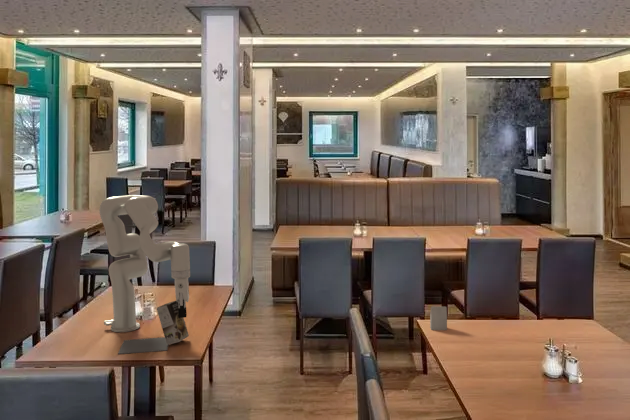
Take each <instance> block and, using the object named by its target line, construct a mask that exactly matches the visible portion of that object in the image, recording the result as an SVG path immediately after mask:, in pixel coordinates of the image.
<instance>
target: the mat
mask: <svg viewBox="0 0 630 420" xmlns="http://www.w3.org/2000/svg"><path fill="white" fill-rule="evenodd" d="M169 345H170V344H169ZM169 345H167V343H166V340H165V336H163V337H151V338H150V337H149V338H137V339H123V342H122V343H121V346H120V348H119V350H118V352H117V355H126V354H138V353H139V354H140V353H141V354H142V353H154V352H155V353H157V352H166V351H167V352H168V349H169Z"/></svg>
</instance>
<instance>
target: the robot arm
mask: <svg viewBox="0 0 630 420" xmlns="http://www.w3.org/2000/svg"><path fill="white" fill-rule="evenodd" d="M158 209H159V204H158V201H157V200H156V198H155V197H153V196H150V195H139V194H129V195H128V194H126V195H118V196H110V197H107V198H105V199H103V200H102V201H101V202H100V204H99V217H100V219H101V222H102V224H103V227H104V232H105V237H106V244H107V249H108V252H109V254H110V255H111V257H114V258H118V257H125V256H129V257H127V258H122V259H117V260H115V261H113V262H112V263H110V264H109V267H108V276H109V278H110V283H111V291H112V293H111V295H112V309H113V319H110V320H108V319H107V320H103V324H104V326H105V327H107V326H110V330H111V332H115V333H128V332H132V331H133V332H134V331H135V330H138V329H139V328H140V326H141V324H140V323H139V322H137V313H136V312H137V311H136V296H135V295H136V293H135V286H134V285H133V283H132V282H131V280H132V279H137V278H141V277H143V276H144V275H146V274H147V271H148V262H147V261H148V260H147V259H149V260H150V261H151V262H153V263H161V262H165V261H166V262H167V261H170V267H171V268H170V269H171V270H170V271H171V273H170V274H171V279H174V290H175V301H176V302H177V303H178V305H179V307H178V316H179V318H184V319H185V318H187V316H188V315H187V314H188V313H187V304H186V303H188V302H189V301H190V292H189V291H190V287H189V285H190V284H189V278H190V277H191V263H190V261H191V259H190V246H189V245H188V244H187V243H180V242H177V241H174V240H173V241H172V240H171V241H170V240H169V241H165V242H159V243H155V241H154V240H153V239H152V237H151V235H150V234H151V233H152V232H154V231H155V230H156V229H157V228H158V226H159V220H158V218H157V217H156V216H155V214H156V213H157V212H158ZM124 215H125V216H126V215H128V216H129V217H130V219H131V220H132V222H133V223H134V225H135V227H137V229H138V230H139V232H140V233H139V234H138V233H134V232H131V233H127V232H126V226H125V224H124V222H123V220H122V219H121V218H120V217H119V216H124Z"/></svg>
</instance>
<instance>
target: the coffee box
mask: <svg viewBox="0 0 630 420" xmlns="http://www.w3.org/2000/svg"><path fill="white" fill-rule="evenodd" d="M178 307H179V305H178V303H177V302H176V300H173V301H170V302H167V303H164V304H162V305H159V306H157V307H156V310H157V315H158V318H159V323H160V325H161V329H162V333H163V337H165V340H166V343H167V345H173V344H177V343H180V342H182V341H184V340H185V339H187V338H188V337H189V335H190V334H189V332H188V329H187V324H186V321H185V318H179V316H178Z"/></svg>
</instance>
